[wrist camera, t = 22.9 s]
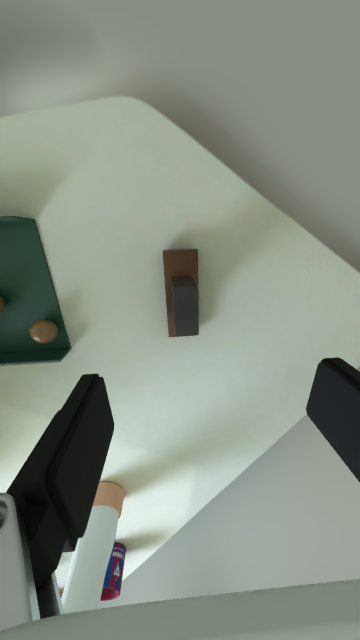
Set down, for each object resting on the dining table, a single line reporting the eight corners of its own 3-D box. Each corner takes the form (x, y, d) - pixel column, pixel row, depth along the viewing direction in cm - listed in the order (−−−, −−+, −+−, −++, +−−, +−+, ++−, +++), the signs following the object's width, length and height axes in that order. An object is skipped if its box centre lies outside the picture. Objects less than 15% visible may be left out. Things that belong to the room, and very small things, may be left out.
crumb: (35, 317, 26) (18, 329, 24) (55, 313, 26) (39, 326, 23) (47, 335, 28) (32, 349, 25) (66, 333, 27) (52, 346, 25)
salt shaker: (131, 489, 41) (105, 678, 24) (112, 506, 43) (73, 694, 25) (100, 476, 39) (46, 673, 21) (81, 495, 41) (16, 691, 23)
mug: (131, 548, 50) (126, 593, 44) (104, 563, 52) (95, 608, 46) (111, 539, 48) (102, 584, 42) (83, 555, 50) (71, 601, 44)
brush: (163, 250, 24) (161, 254, 17) (195, 248, 24) (207, 252, 18) (168, 332, 28) (169, 361, 22) (196, 330, 29) (206, 359, 22)
